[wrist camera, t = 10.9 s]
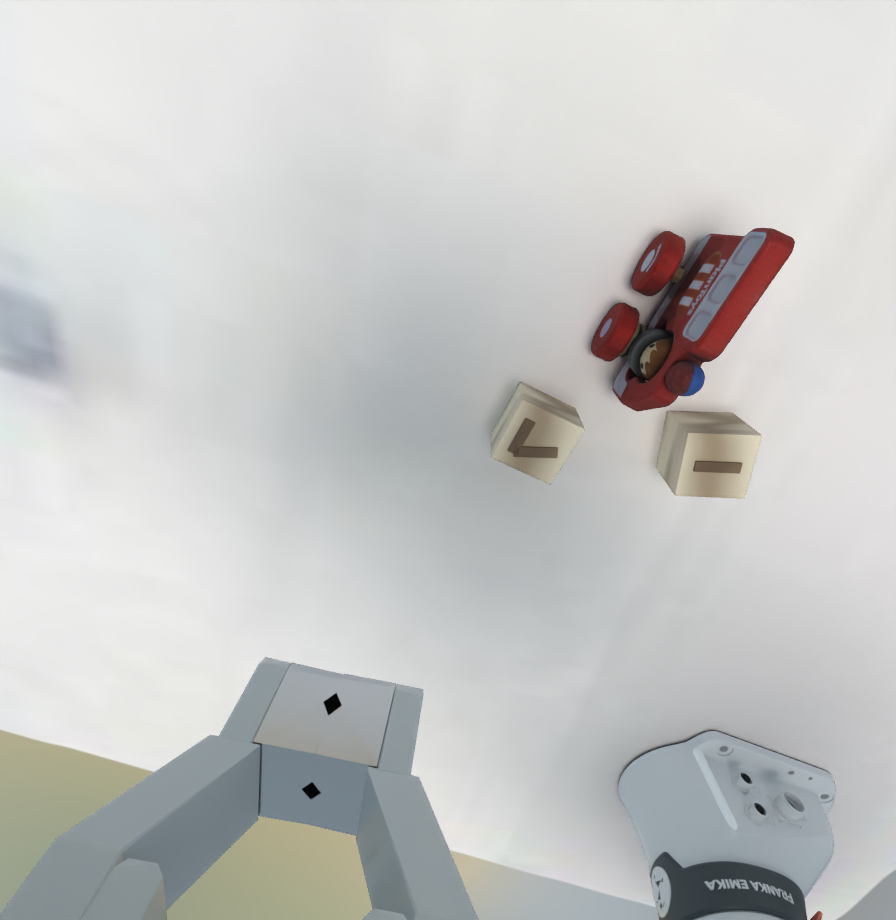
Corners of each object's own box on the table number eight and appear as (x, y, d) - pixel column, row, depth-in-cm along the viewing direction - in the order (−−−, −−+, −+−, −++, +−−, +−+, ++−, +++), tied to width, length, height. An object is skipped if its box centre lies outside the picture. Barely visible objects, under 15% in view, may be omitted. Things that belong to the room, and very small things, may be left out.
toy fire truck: (573, 367, 40) (596, 409, 30) (668, 207, 35) (733, 197, 25) (649, 406, 40) (696, 459, 31) (754, 254, 35) (847, 262, 26)
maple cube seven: (575, 407, 41) (585, 430, 36) (544, 458, 43) (550, 486, 38) (520, 381, 40) (522, 400, 36) (491, 433, 42) (490, 458, 38)
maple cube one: (731, 412, 40) (763, 436, 35) (717, 469, 42) (745, 499, 37) (666, 410, 40) (689, 433, 36) (655, 467, 42) (675, 496, 38)
